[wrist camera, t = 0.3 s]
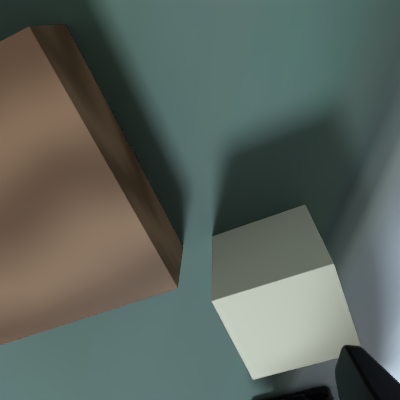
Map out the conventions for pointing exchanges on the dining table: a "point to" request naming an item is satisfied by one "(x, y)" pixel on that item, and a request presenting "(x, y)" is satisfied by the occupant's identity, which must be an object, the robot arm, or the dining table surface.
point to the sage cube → (280, 294)
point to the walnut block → (70, 194)
